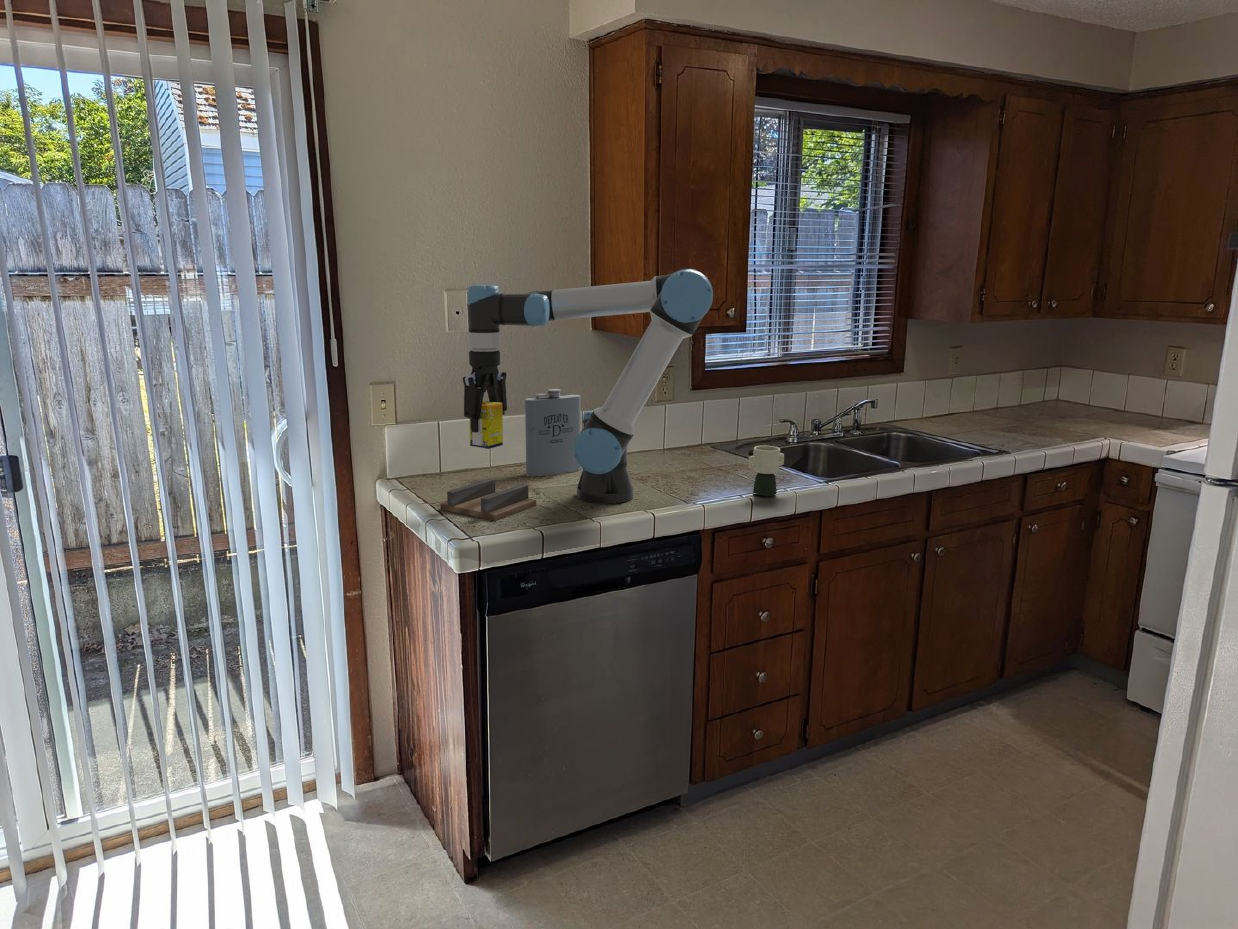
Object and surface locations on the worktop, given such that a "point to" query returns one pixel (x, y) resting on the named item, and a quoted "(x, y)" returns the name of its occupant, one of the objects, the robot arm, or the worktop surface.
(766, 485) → the character mug
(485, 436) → the supplement box
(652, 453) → the worktop surface
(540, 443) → the flask
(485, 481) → the slot rack
